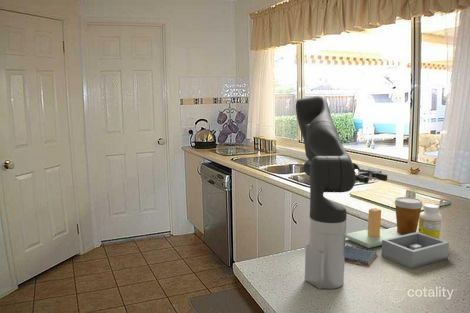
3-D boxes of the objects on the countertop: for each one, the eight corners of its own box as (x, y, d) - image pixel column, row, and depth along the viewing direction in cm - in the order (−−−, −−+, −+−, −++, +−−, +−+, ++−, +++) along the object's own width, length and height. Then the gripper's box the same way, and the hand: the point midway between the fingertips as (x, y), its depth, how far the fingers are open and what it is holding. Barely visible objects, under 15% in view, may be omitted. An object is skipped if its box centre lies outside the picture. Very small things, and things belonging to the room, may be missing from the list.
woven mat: (333, 261, 117) (333, 254, 117) (344, 250, 126) (345, 244, 126) (368, 269, 112) (369, 262, 111) (378, 257, 120) (378, 250, 120)
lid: (368, 251, 125) (370, 217, 123) (344, 240, 134) (345, 208, 133) (402, 242, 132) (405, 210, 130) (377, 233, 142) (378, 203, 140)
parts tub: (412, 268, 111) (413, 252, 110) (381, 255, 120) (382, 239, 119) (447, 258, 118) (449, 242, 117) (416, 246, 128) (417, 231, 127)
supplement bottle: (420, 237, 136) (423, 202, 134) (441, 242, 132) (444, 205, 130) (415, 243, 131) (417, 206, 129) (437, 247, 127) (440, 209, 125)
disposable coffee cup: (424, 231, 142) (426, 199, 141) (415, 238, 136) (417, 204, 134) (398, 226, 149) (400, 195, 147) (388, 232, 142) (390, 200, 140)
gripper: (328, 162, 141) (362, 169, 127) (358, 160, 147) (393, 166, 133) (328, 183, 142) (361, 192, 128) (357, 179, 149) (392, 187, 134)
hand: (377, 179), depth 130 cm, fingers open, 8 cm apart
